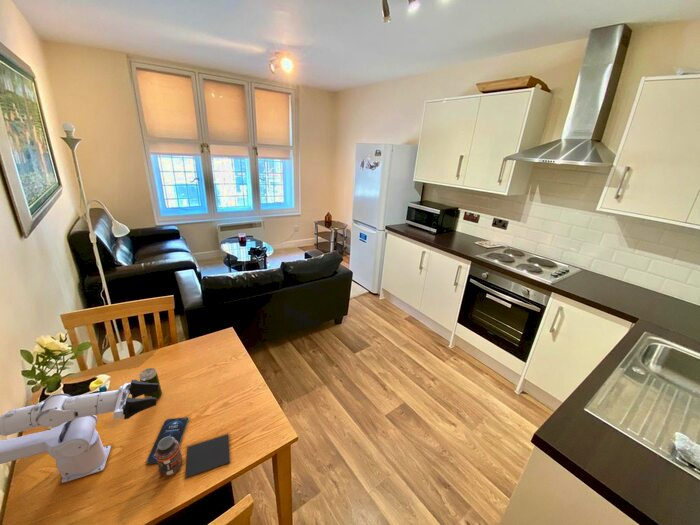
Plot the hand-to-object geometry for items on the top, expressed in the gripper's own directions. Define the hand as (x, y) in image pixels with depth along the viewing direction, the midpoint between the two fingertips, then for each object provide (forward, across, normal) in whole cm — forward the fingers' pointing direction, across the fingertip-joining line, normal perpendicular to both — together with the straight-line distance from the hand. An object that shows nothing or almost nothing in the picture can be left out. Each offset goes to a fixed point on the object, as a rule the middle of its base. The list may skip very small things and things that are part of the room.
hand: (157, 393), depth 87 cm
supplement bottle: (+5, -7, +21) cm, 22 cm away
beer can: (-3, +24, +16) cm, 29 cm away
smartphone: (+3, +3, +19) cm, 19 cm away
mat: (+15, -8, +19) cm, 25 cm away
